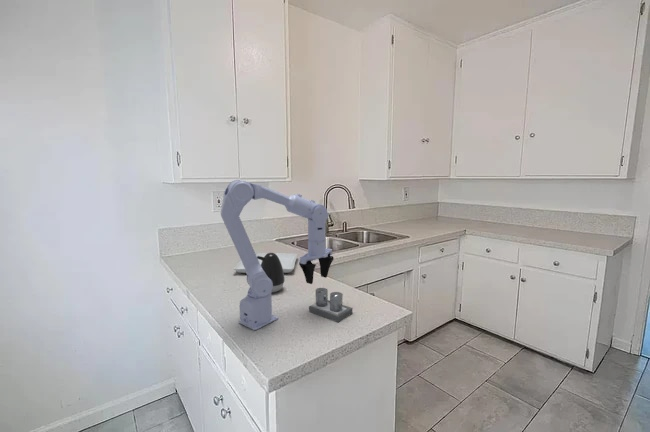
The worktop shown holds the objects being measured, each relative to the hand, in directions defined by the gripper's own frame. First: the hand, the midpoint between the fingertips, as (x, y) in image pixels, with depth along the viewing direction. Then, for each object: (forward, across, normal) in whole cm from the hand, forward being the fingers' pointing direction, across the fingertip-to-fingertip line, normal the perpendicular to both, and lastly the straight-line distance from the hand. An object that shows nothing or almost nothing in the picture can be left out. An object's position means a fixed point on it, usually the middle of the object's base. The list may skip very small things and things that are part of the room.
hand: (316, 279), depth 104 cm
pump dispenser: (+11, +2, +25) cm, 27 cm away
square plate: (+11, +22, +49) cm, 55 cm away
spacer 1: (+8, 0, -2) cm, 8 cm away
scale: (+10, +1, -5) cm, 12 cm away
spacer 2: (+8, 0, -8) cm, 11 cm away
